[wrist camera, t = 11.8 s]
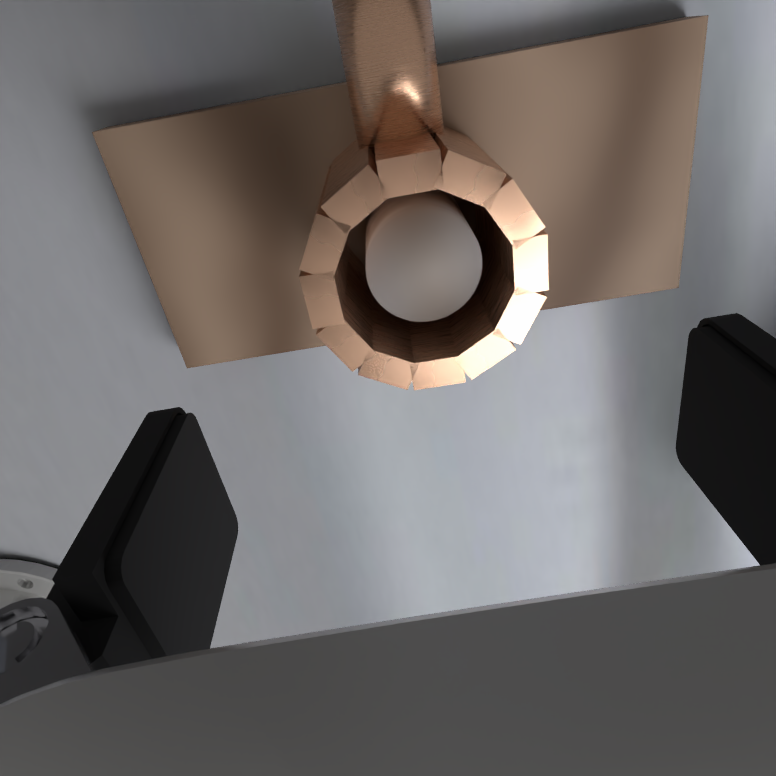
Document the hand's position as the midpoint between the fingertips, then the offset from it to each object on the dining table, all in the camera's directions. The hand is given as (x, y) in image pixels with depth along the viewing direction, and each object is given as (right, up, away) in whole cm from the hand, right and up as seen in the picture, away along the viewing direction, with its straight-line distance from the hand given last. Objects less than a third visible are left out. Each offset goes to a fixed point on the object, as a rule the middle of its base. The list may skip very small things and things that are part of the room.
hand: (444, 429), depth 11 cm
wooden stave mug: (-1, +9, +11) cm, 14 cm away
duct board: (0, +8, +13) cm, 16 cm away
